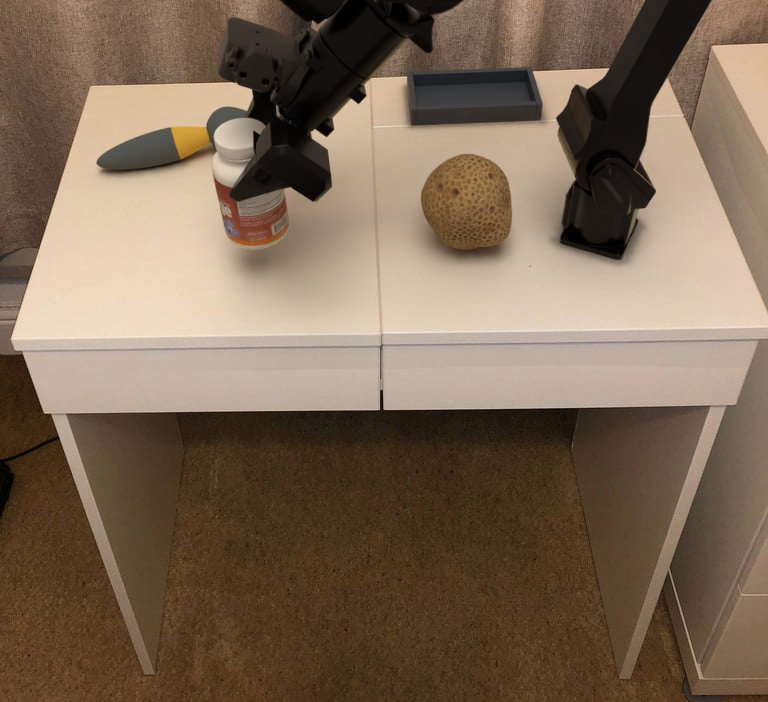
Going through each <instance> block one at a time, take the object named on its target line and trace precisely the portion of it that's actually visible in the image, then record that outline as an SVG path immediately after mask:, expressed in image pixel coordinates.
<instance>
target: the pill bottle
mask: <svg viewBox="0 0 768 702" xmlns="http://www.w3.org/2000/svg"><path fill="white" fill-rule="evenodd" d="M265 127H266V126H265V125H264V124H263V123H262V122H260V121H258V120H255V119H251V118H238V119H233V120H230V121H227V122H225V123H223V124H222V125H220V126H219V127H218V128H217V129H216V131H215V133H214V141H215V147H214V148H215V150H216V152H215V153H214V155H213V157H212V160H211V173H212V177H213V181H214V182H213V183H214V186H215V192H216V196H217V201H218V205H219V210H220V214H221V218H222V223H223V228H224V232H225V235H226V237H227V239H228V240H229V241H230V242H231V243H232V244H234V245H235V246H236V247H239V248H242V249H244V250H251V251H252V250H263V249H266V248H270V247H272V246H274V245H276V244H278V243H279V242H281V241H282V240H283V239H285V237H286V236H287V234H288V232H289V228H290V220H289V211H288V205H287V198H286V192H285V189H281V190H277V191H273V192H270V193H266V194H263V195H260V196H256V197H253V198H250V199H247V200H243V201H240V202H237V201H235V200H233V199H232V198H230V197H229V192H230V190H231V189H232V187H233V185H234V184H235V182H236V180H237V179H238V177H239V176H240V175H241V173H242V172H243V170H244V169H245V167H246V166H247V164H248V163H249V161H250V160H251V158H252V157H253V155H254V151H253V131H255V132H257V133H258V134H261V132H262V131H263V129H264V128H265Z"/></svg>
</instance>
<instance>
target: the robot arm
mask: <svg viewBox="0 0 768 702" xmlns="http://www.w3.org/2000/svg"><path fill="white" fill-rule="evenodd" d="M277 1H278V2H279V3H281V4H282V5H283V6H285V8H286V9H288V10H290V11H291V12H292V13H293V14H295V16H297V17H299V18H300V19H301V20H302V21H304V22H305V23H309V22H312V21H313V22H314V23H315V24H316V25H319V24H321V23H322V24H321V25H320V26H319V28H318V29H317V30H316V29H314V27H311V25H309V26H308V27H307V29H306V28H305V27H304V28H302V29H301V30H300V31H299V32H298V33H297V34H296V36H294V37H291V36H288V35H285V34H283V33H281V32H280V31H278V30H276V29H274V28H270V27H268V26H264V25H261V24H258V23H255V22H253V21H249V20H246V19H243V18H240V17H235V16H234V17H229V18H228V20H227V23H226V26H225V28H224V33H223V37H222V39H221V43H220V46H219V49H218V52H217V56H218V66H217V73H218V75H219V76H220V78H222V79H223V80H225V81H227V82H229V83H233V84H237V85H238V86H240V87H242V88H246V89H248V90H251V93H252V99H251V101H250V104H249V106H248V108H247V110H246V111H247V112H246V115H245V117H244V118H251V119H255V120H258V121H260V122H262V123H263V124H264V125H265V126H266V127H265V128H264V129H263V131H262V132H261V134H258V133H257V132H255V131H253V151H254V155H253V157H252V158H251V160H250V161H249V163H248V164H247V166H246V167H245V169H244V170H243V172H242V173H241V175H240V176H239V177H238V179H237V180H236V182H235V184H234V185H233V187H232V189H231V190H230V192H229V197H230V198H232V199H233V200H235V201H237V202H240V201H243V200H247V199H250V198H253V197H256V196H260V195H263V194H266V193H270V192H273V191H277V190H281V189H284V190H285V189H292V190H293V191H295V192H297V193H298V194H300V195H301V196H303V197H304V198H306V199H308V200H309V201H311V202H313V203H316V202H319V201H320V200H321V199H322V198H323V197H324V195H326V194H327V192H329V191H330V190H331V189H332V188H333V181H332V180H333V178H332V170H331V163H330V156H329V149H328V148H326V147H325V146H324V145H322V144H321V143H319V141H317V140H315V139H314V138H313V137H312V132H314V130H315V131H316V132H318V133H319V134H321V135H322V136H324V137H325V138H328V137H329V136H330V135H331V134H332V133H333V131H335V125H334V124H335V123H334V118H335V116H336V115H338V114H339V112H340V111H341V110H342V109H343V108H344V107H345V106H346V105H347V104H348V103H349V102H350V101H351V100H352V101H353V102H355V103H356V104H357V105H360V104H361V103H362V102H363V101H364V100H365V99H366V98H367V91H366V86H365V85H366V84H367V83H368V82H369V81H370V80H371V79H372V78H373V76H374V75H376V73H378V72H379V70H380V69H381V68H382V67H383V66H384V65H385V64H386V63H387V62H388V61H389V60H390V59H391V58H392V57H393V56H394V55H395V53H396V52H397V51H398V50H399V49H400V48H401V47H402V46H403V45H404V44H405V43H406V42H407V41H408V40H409V41H410V42H412V43H413V44H414V45H415V46H417V47H418V48H419V49H420V50H421V51H422V52H424V53H425V54H428V55H429V54H431V53H432V52H433V51H434V45H433V27H434V24H435V22H436V21H435V17H434V16H438V15H443V14H445V13H447V12H450V11H452V10H454V9H455V8H456V7H458V6H459V5H461V4H462V3H463V2H464V1H465V0H277ZM712 2H713V0H644V1H643V3H642V5H641V7H640V8H639V11H638V12H637V15H636V17H635V18H634V21H633V22H632V24H631V26H630V28H629V30H628V31H627V34H626V36H625V38H624V39H623V41H622V44H620V47H619V49H618V51H617V53H616V54H615V57H614V58H613V60H612V62H611V64H610V66H609V68H608V70H607V72H606V73H605V75H604V76H603V77H602V78H601V79H599V80H598V81H597V82H595V83H594V84H593V85H591V86H589V87H588V88H587V87H585V86H582V85H581V84H577V83H576V84H574V85H573V87H572V89H571V91H570V95H569V98H568V100H567V103H566V105H565V106H564V108H563V109H562V111H561V112H560V113H559V114H558V115H556V117H555V120H556V122H557V125H558V129H557V138H558V142H559V144H560V146H561V149H562V151H563V154H564V155H565V158H566V161H567V162H568V165H569V167H570V169H571V172H572V174H573V176H574V178H575V180H573V181H572V183H571V185H570V187H569V188H568V190H567V192H566V194H565V200H564V205H563V210H562V215H561V216H562V217H561V223H560V224H561V226H562V227H564V229H563V230H562V232H561V234H560V237H559V242H560V243H562V244H564V245H568V246H571V247H575V248H578V249H580V250H581V249H582V250H585V251H589V252H593V253H595V254H599V255H602V256H606V257H609V258H613V259H617V260H620V259H622V258H624V255H625V253H626V251H627V249H628V246H629V245H630V243H631V241H632V238H633V236H634V233H635V231H636V229H637V228H638V224H639V219H638V218H637V217H638V213H639V210H641V209H643V210H644V209H646V208H647V207H648V206H649V204H650V203H651V201H652V199H653V198H654V196H655V195H656V193H657V190H656V188H655V185H654V184H653V182H652V180H651V178H650V176H649V175H648V173H647V170H646V169H645V167H644V165H643V163H642V161H641V158H642V155H643V152H644V150H645V148H646V145H647V142H648V141H647V140H648V133H649V126H650V125H649V124H650V119H651V111H652V106H653V104H654V102H655V100H656V98H657V96H658V94H659V93H660V91H661V89H662V88H663V87H664V84H665V82H666V81H667V79H668V78H669V76H670V74H671V72H672V70H673V69H674V68H675V65H676V64H677V62H678V60H679V59H680V57H681V55H682V53H683V52H684V50H685V48H686V46H687V45H688V43H689V41H690V40H691V38H692V36H693V35H694V33H695V31H696V29H697V27H698V26H699V24H700V23H701V21H702V19H703V17H704V15H705V13H706V12H707V10H708V9H709V7H710V5H711V4H712Z"/></svg>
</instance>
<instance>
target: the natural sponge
mask: <svg viewBox="0 0 768 702" xmlns="http://www.w3.org/2000/svg"><path fill="white" fill-rule="evenodd" d="M510 187H511V186H510V183H509V180H508V177H507V176H506V174H505V171H504V170H502V168H501V167H500V166H499V165H498V164H497V163H495V162H494V161H492V160H491V159H489V158H487V157H484V156H481V155H478V154H476V153H461V154H457V155H455V156H452V157H450V158H448V159H446V160H444V161H443V162H442V163H440V164H438V166H436V167H435V168H434V169H433V170H432V171H431V172H430V173H429V175H428V176H427V178H426V180H425V181H424V184H423V186H422V189H421V192H420V205H421V209H422V212H423V216H424V218H425V219H426V221H427V223H428V224H429V226H430V228H431V229H432V231H433V233H435V235H436V236H437V238H439V239H440V240H441V242H443V243H445V244H446V245H447V246H449V247H451V248H453V249H456V250H460V251H467V250H473V249H477V248H483V247H484V248H485V247H493V246H497V245H500V244H501V243H503V242H504V241H506V240H507V238H508V237H509V235H510V233H511V229H512V223H513V208H512V207H513V206H512V193H511V188H510Z"/></svg>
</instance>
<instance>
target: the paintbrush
mask: <svg viewBox="0 0 768 702" xmlns="http://www.w3.org/2000/svg"><path fill="white" fill-rule="evenodd" d="M246 112H247V110H246V109H243V108H240V107H236V106H235V107H234V106H222V107H219V108H217V109H216V110H214V111H213V112H212V113H211V114H210V116H209V117H208V119H207V121H206V125H205V126H169V127H164V128H159V129H157V130H152V131H150V132H147V133H144V134H140V135H137V136H135V137H132V138H130V139H128V140H125V141H124V142H121V143H119V144H117V145H115V146H113V147H111V148H110V149H108V150H105V152H103V153H102V154H100V156H98V158H97V159H96V163H95V164H96V165H97V166H98V167H99V168H102V169H108V170H135V169H142V168H143V169H145V168H150V167H156V166H161V165H165V164H169V163H173V162H176V161H177V162H178V161H180V160H182V159H185V158H187V157H189V156H190V155H193V154H194V153H196V152H198V151H200V150H201V149H202V148H204V147H206V146H208V145H209V144H211V145H212V146H213V148H216V147H215V141H214V133H215V131H216V129H217V128H218V127H219V126H220V125H222V124H223V123H225V122H227V121H230V120H233V119H238V118H244V117H245V115H246Z"/></svg>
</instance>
